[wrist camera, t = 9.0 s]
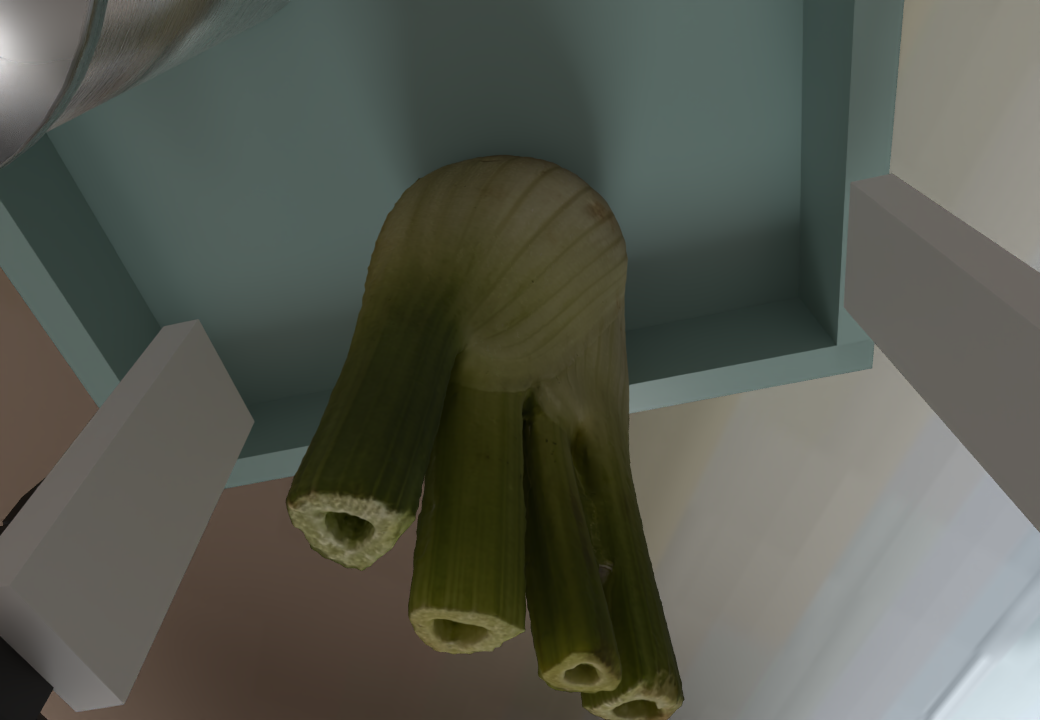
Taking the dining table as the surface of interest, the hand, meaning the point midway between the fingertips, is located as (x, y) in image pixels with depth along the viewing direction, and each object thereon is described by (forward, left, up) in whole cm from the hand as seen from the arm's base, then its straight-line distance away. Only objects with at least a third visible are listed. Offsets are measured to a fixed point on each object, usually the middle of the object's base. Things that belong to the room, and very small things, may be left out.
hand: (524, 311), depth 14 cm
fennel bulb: (0, 0, -4) cm, 4 cm away
